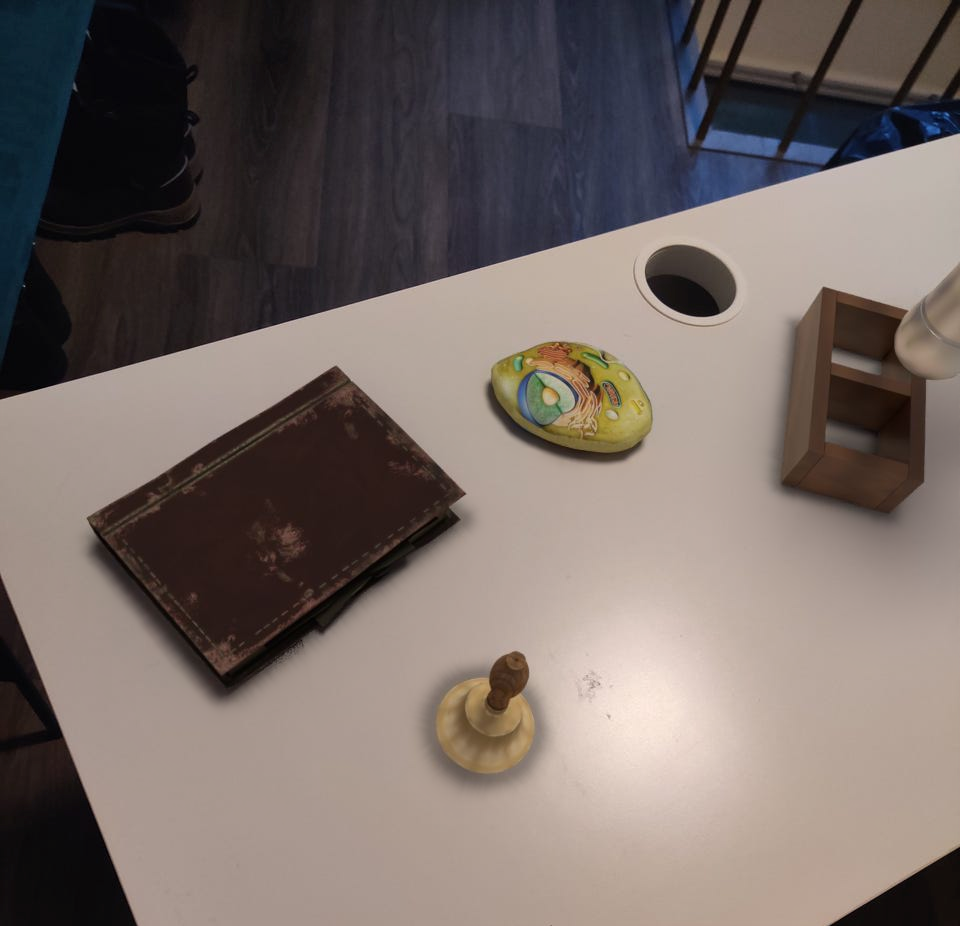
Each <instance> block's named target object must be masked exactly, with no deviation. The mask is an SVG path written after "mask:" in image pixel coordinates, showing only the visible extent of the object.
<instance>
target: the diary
mask: <svg viewBox="0 0 960 926" xmlns="http://www.w3.org/2000/svg"><path fill="white" fill-rule="evenodd" d="M466 495H467V492H466V491H465V490H464V489H463V488H462V487H460V485H459V484H457V483H456V482H455V481H454V480H453V479H452V477H451V476H450V475H449V474H448V473H446V471H445V470H444V469H443V468H442V467H441V466H440V465H439V464H438V463H437V462H436V461H435V460H434V459H433V458H432V457H431V456H430V455H429V454H428V453H427V452H426V451H425V450H424V449H423V448H422V447H421V446H420V445H419V444H418V443H417V442H416V441H415V440H414V439H413V438H412V437H411V436H410V434H408V433H407V432H406V431H405V430H404V429H403V427H402V426H400V425H399V424H398V423H397V421H395V420H394V418H392V417H391V416H390V415H389V414H387V412H386V411H384V410H383V408H382V407H381V406H379V405H378V403H376V402H375V400H373V399H372V398H371V397H370V396H369V395H368V394H367V393H366V392H365V391H363V390H362V389H361V388H360V387H359V386H358V385H357V383H355V382H354V381H352V380H351V378H350V377H349V376H348V375H347V374H346V373H345V372H344V371H343V370H342V369H341V368H340V367H339V366H338V365H334V366H332V367H330V368H329V369H328V370H325V371H324V372H323V373H321V374H320V375H318V376H316V377H315V378H314V379H312V380H310V381H308V382H307V383H306V384H303V386H301V387H300V388H298V389H297V390H295V391H293V392H292V393H290V394H289V395H287V396H285V397H284V398H282V399H281V400H279V401H278V402H276V403H275V404H273V405H271V406H270V407H268V408H266V409H265V410H263V411H261V412H259V413H257V414H256V415H254V416H252V417H251V418H249V419H247V420H245V421H243V422H242V423H241V424H239V425H237V426H235V427H234V428H232V429H230V430H228V431H227V432H224V433H223V434H222V435H220V436H218V437H217V438H214V439H213V440H211V441H210V442H208V443H207V444H205V445H203V446H202V447H200V448H199V449H198V450H196V451H195V452H193V453H191V454H190V455H189V456H186V457H185V458H183V460H181V461H179V462H178V463H176V464H175V465H173V466H171V467H170V468H168V469H167V470H165V471H164V472H163V473H161V474H159V475H158V476H156V477H154V478H152V479H151V480H149V481H148V482H146V483H144V484H142V485H141V486H139V487H136V488H135V489H134V490H131V491H130V492H128V493H127V494H125V495H122V496H121V497H119V498H118V499H116V500H114V501H113V502H111V503H109V504H107V505H105V506H104V507H102V508H100V509H99V510H97V511H95V512H93V513H92V514H90V515H89V516H87V517H86V520H87V522H88V524H89V526H90V528H91V530H92V531H93V533H94V535H95V536H96V537H97V540H98V541H99V542H100V544H101V545H102V546H103V548H104V549H105V550H106V551H107V552H108V553H109V555H110V556H111V557H112V558H113V559H114V560H115V561H116V563H117V564H118V565H119V566H120V567H121V569H122V570H123V571H124V572H125V573H126V574H127V575H128V577H129V578H130V579H131V581H133V583H134V584H135V585H136V586H137V587H138V588H139V590H140V591H141V592H142V593H143V594H144V595H145V597H146V598H147V599H148V600H149V601H150V603H152V605H153V606H154V607H155V608H156V610H157V611H158V612H159V613H160V614H161V615H162V617H163V618H164V619H165V620H166V621H167V622H168V623H169V625H170V626H171V627H172V628H173V629H174V630H175V632H176V633H177V634H178V635H179V636H180V637H181V639H182V640H183V641H184V642H185V644H186V645H187V646H188V647H189V648H190V650H192V652H193V653H194V654H195V655H196V656H197V657H198V659H199V660H200V661H201V662H202V663H203V664H204V665H205V666H206V668H207V669H208V670H209V671H210V672H211V673H212V675H213V676H214V677H215V678H216V679H217V681H218V682H219V683H220V685H222V686H223V687H224V688H225V690H227V691H229V690H231V689H233V688H235V687H237V686H238V685H240V684H241V683H242V682H244V681H246V680H247V679H248V678H250V677H251V676H253V675H254V674H255V673H256V672H258V671H259V670H261V669H262V668H264V667H265V666H266V665H268V664H270V662H273V660H275V659H276V658H278V657H279V656H280V655H282V654H283V653H285V652H286V651H287V650H288V649H290V648H291V647H293V646H294V645H296V644H297V643H298V642H299V641H301V640H302V639H304V637H306V636H307V635H308V634H310V633H311V632H313V630H315V629H316V628H317V627H319V626H321V627H322V628H324V627H326V625H327V624H328V623H329V622H330V621H331V620H332V619H333V618H334V617H335V615H336V614H337V613H338V612H339V611H340V610H341V609H342V608H343V607H345V606H346V605H347V604H349V603H350V602H352V601H353V600H355V599H356V598H357V597H359V596H360V595H361V594H363V593H364V592H366V591H367V590H369V589H370V588H372V587H373V586H375V585H376V584H377V583H378V582H380V581H381V580H382V579H383V578H385V577H386V576H387V575H388V574H389V572H385V571H386V570H387V569H388V568H390V567H391V566H392V565H394V564H395V563H396V562H398V561H399V560H400V559H403V558H404V557H406V556H407V555H409V554H411V553H413V552H416V551H417V550H419V549H421V548H423V547H424V546H426V545H428V544H430V543H431V542H433V541H434V540H435V539H437V538H438V537H440V536H441V535H443V534H444V533H445V532H447V531H448V530H449V529H451V528H452V527H454V526H455V525H456V524H458V523H459V522H460V521H461V520H462V519H461V518H460V517H459V516H458V515H457V514H456V513H455V512H454V511H453V509H451V508H450V507H451V506H452V505H453V504H455V503H456V502H458V501H459V500H461V499H462V498H463V497H465V496H466ZM383 572H385V573H384V574H381V573H383Z"/></svg>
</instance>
